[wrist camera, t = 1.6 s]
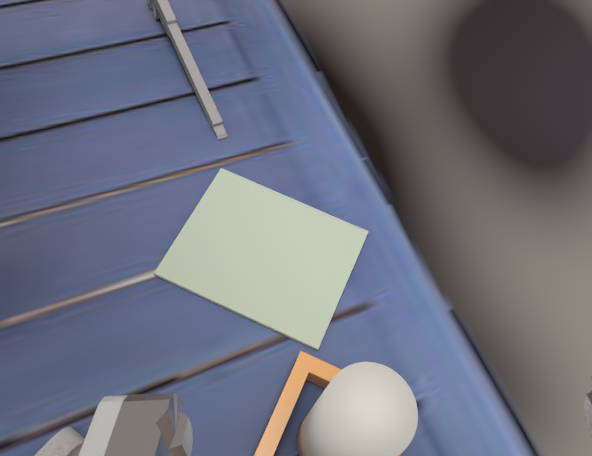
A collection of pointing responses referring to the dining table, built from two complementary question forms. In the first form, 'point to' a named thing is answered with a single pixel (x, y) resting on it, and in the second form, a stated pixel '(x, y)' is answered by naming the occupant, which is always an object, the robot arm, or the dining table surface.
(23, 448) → the dining table surface
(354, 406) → the tall white pillar
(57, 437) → the wrench
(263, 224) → the mat
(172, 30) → the caliper
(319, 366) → the orange square frame
